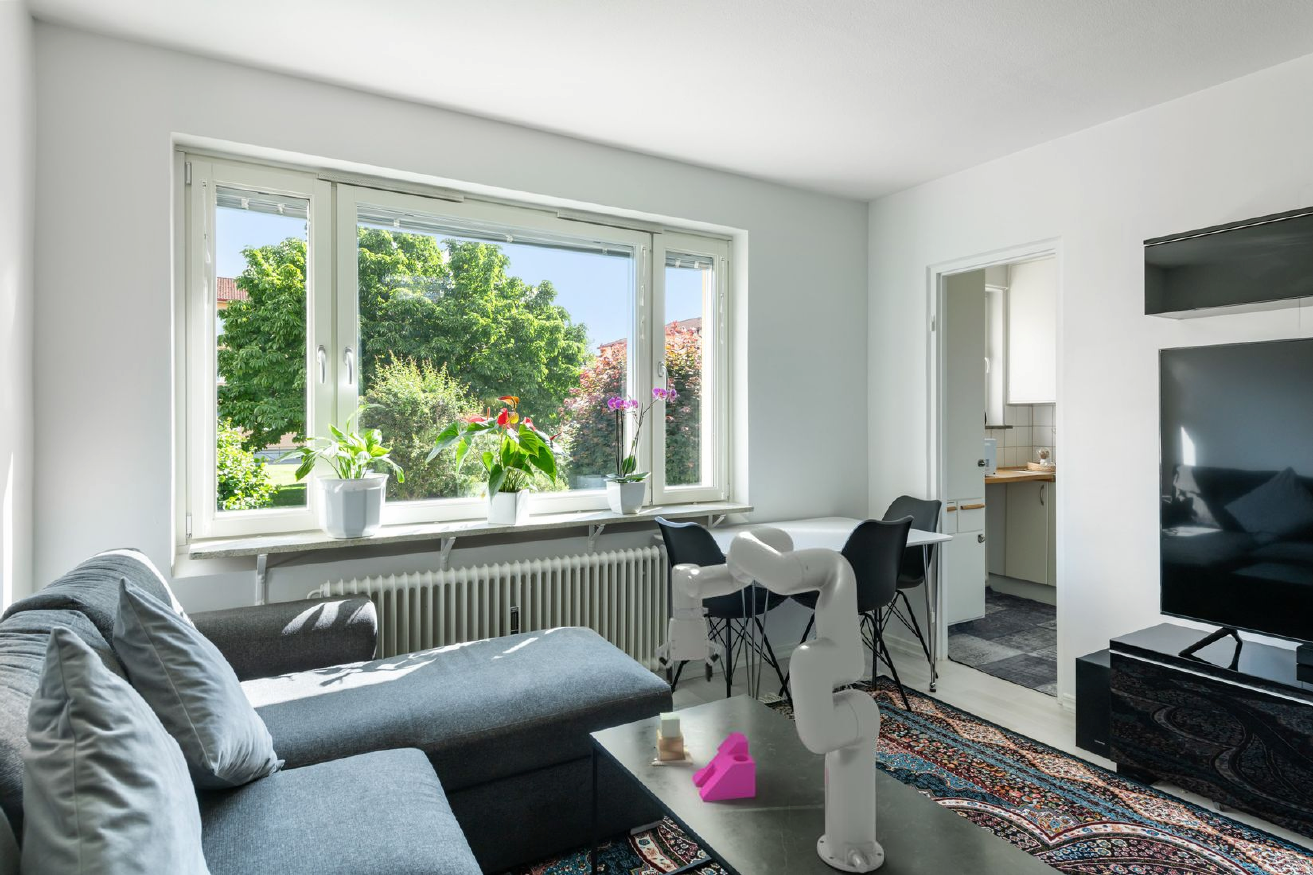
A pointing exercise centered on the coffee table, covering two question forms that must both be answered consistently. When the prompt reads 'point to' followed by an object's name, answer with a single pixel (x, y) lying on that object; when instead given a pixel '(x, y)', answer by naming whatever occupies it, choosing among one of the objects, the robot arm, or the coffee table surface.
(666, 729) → the sage cube
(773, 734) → the coffee table surface
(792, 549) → the robot arm
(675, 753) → the oak block
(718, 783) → the bracket
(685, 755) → the birch board
